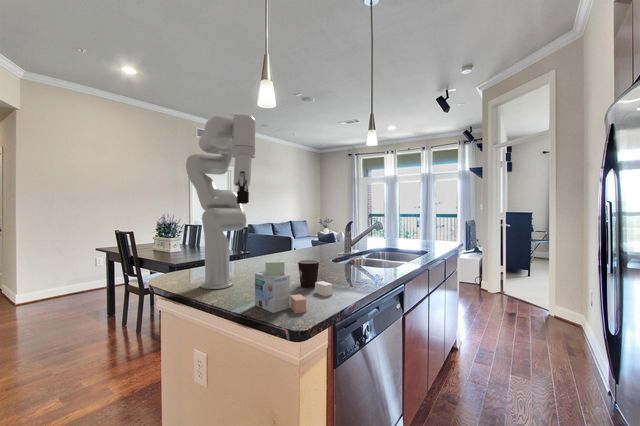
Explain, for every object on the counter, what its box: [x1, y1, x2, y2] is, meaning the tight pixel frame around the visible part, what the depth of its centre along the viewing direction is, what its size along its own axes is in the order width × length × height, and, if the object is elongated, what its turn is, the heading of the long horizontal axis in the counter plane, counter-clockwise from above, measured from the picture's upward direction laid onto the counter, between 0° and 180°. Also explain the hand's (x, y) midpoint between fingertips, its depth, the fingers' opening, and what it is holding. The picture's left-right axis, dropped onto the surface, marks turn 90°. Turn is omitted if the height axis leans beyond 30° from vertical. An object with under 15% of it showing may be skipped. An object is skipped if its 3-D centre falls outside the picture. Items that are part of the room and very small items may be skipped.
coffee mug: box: [297, 259, 320, 289], centre depth 127 cm, size 12×9×10 cm
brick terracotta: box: [289, 293, 307, 314], centre depth 97 cm, size 6×4×4 cm, turn 21°
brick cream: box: [314, 280, 334, 297], centre depth 115 cm, size 6×4×4 cm, turn 38°
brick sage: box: [264, 259, 285, 275], centre depth 99 cm, size 6×4×4 cm, turn 100°
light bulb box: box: [254, 271, 291, 314], centre depth 100 cm, size 11×7×11 cm, turn 45°
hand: (243, 203), depth 106 cm, fingers open, 9 cm apart
